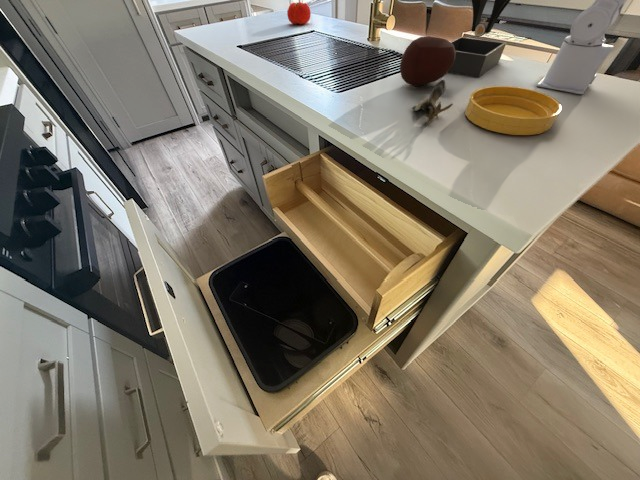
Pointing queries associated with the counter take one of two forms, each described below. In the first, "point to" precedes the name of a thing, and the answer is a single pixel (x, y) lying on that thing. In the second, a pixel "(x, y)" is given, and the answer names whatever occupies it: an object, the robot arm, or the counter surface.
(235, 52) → the counter surface
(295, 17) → the tomato
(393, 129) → the counter surface
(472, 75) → the bin
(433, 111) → the eagle figurine
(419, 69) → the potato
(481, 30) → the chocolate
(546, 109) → the bowl
